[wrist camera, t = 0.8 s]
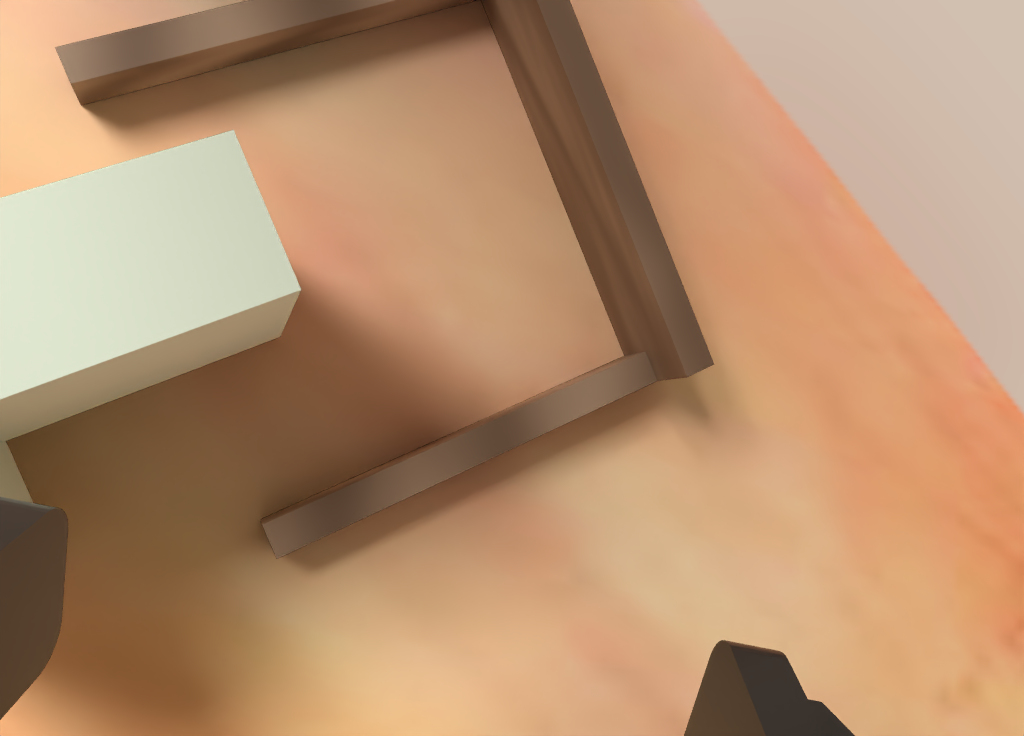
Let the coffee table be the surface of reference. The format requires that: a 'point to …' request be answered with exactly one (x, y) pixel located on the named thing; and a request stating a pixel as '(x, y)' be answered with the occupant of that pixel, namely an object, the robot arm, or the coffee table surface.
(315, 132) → the coffee table surface
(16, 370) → the t block
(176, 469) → the coffee table surface
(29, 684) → the robot arm
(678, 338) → the dock
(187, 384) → the coffee table surface
